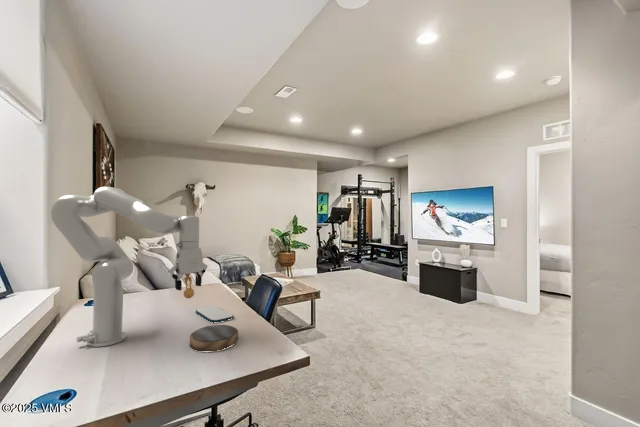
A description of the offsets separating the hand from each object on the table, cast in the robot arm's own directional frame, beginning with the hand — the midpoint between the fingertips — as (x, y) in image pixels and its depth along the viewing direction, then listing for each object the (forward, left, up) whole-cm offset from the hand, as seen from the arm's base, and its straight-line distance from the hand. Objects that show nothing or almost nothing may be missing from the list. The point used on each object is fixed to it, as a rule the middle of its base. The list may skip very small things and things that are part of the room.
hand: (188, 287), depth 122 cm
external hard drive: (+23, +15, -21) cm, 34 cm away
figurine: (0, 0, -4) cm, 4 cm away
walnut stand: (+4, -13, -20) cm, 24 cm away
